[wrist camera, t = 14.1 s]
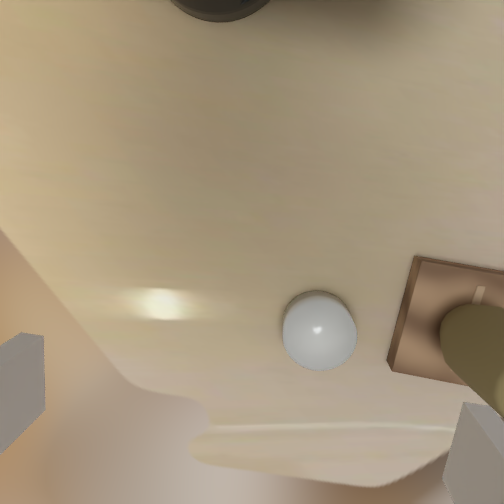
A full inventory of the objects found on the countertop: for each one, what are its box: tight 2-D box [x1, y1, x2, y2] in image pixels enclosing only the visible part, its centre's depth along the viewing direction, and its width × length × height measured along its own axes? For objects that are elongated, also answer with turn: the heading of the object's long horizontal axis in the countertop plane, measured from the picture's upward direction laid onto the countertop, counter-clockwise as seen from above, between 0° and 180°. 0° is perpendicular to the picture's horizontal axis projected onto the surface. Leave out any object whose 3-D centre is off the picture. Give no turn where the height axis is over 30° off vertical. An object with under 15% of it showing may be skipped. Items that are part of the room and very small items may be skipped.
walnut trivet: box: [387, 256, 504, 386], centre depth 42 cm, size 13×13×3 cm
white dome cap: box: [283, 291, 357, 371], centre depth 43 cm, size 8×8×4 cm
